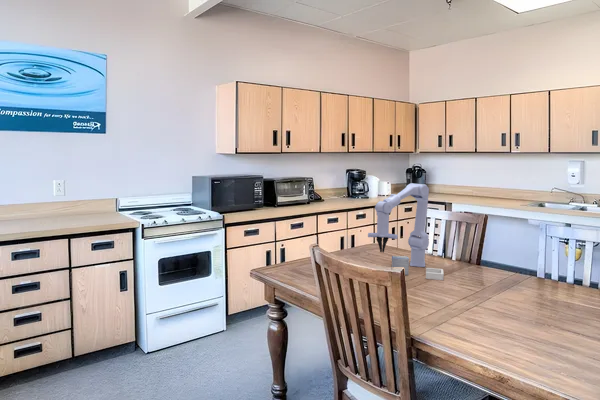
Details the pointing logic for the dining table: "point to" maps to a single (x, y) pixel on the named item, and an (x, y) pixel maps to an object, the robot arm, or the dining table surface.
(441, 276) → the dock
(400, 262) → the medicine box
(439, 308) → the dining table surface
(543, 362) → the dining table surface
